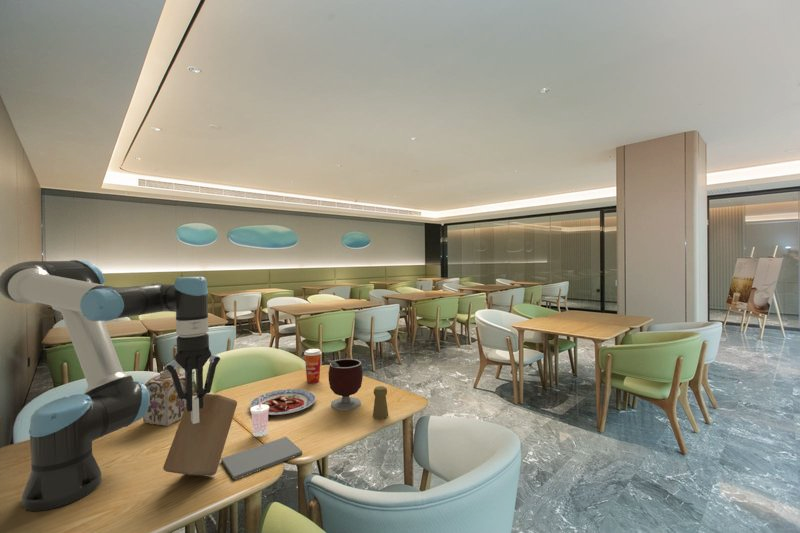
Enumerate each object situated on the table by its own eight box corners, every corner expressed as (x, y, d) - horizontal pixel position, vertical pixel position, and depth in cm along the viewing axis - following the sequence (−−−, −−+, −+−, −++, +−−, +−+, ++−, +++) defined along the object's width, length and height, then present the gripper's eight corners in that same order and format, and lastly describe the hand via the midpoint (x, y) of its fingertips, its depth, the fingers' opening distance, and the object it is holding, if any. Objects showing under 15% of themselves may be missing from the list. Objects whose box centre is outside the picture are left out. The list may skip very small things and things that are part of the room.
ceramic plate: (279, 425, 132) (279, 417, 132) (236, 410, 146) (236, 402, 146) (328, 401, 154) (328, 394, 154) (287, 390, 168) (287, 383, 168)
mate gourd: (350, 395, 161) (350, 350, 160) (369, 404, 150) (369, 356, 150) (319, 404, 150) (318, 356, 150) (337, 415, 140) (336, 363, 140)
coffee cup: (301, 383, 176) (301, 352, 176) (308, 377, 184) (308, 348, 184) (318, 384, 175) (317, 353, 174) (324, 378, 183) (324, 348, 183)
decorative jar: (141, 423, 134) (140, 374, 134) (169, 410, 146) (168, 365, 145) (167, 427, 131) (166, 377, 131) (193, 413, 142) (193, 368, 142)
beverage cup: (270, 428, 130) (270, 389, 129) (268, 436, 124) (267, 395, 123) (252, 430, 128) (251, 390, 128) (249, 438, 122) (248, 397, 122)
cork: (391, 415, 140) (391, 386, 140) (380, 420, 136) (380, 391, 135) (380, 410, 144) (380, 383, 144) (369, 415, 140) (369, 387, 140)
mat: (233, 480, 100) (233, 476, 100) (221, 461, 109) (221, 458, 109) (302, 454, 113) (302, 451, 113) (286, 439, 122) (286, 436, 122)
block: (193, 475, 93) (219, 394, 103) (160, 471, 95) (189, 391, 105) (216, 476, 102) (239, 400, 111) (185, 471, 104) (210, 398, 113)
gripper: (166, 340, 91) (168, 434, 91) (222, 333, 99) (225, 419, 100) (162, 335, 97) (164, 424, 97) (215, 329, 105) (218, 410, 105)
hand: (195, 421), depth 98 cm, fingers closed
